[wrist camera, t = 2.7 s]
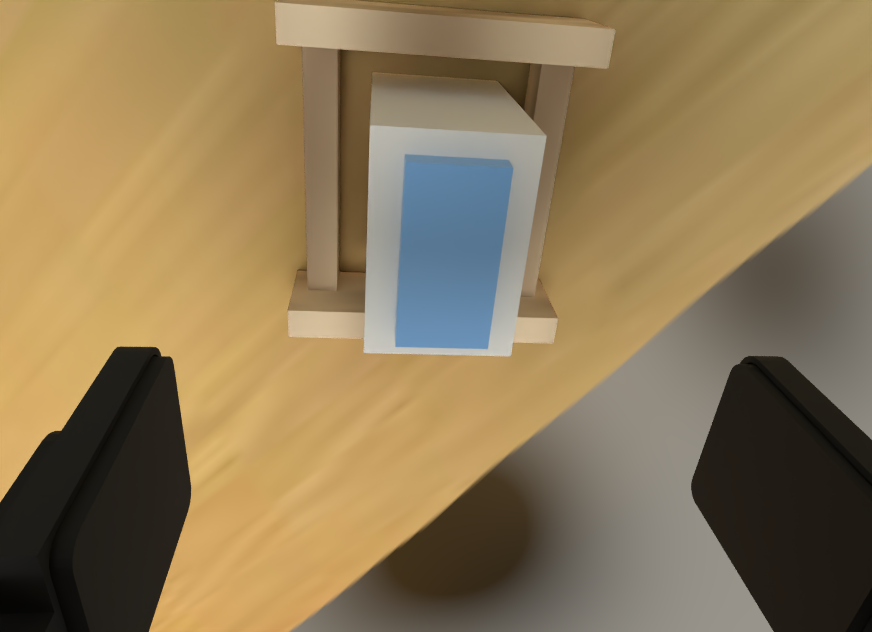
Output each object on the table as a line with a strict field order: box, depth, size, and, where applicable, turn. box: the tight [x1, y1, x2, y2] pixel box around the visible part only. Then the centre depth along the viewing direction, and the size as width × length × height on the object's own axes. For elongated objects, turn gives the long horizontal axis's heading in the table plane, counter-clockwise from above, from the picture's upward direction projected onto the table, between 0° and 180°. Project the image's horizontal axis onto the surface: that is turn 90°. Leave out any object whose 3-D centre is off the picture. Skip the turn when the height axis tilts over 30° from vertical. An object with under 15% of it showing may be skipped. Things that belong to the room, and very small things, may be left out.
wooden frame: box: [275, 0, 616, 343], centre depth 20 cm, size 9×10×3 cm
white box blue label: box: [364, 72, 547, 356], centre depth 19 cm, size 4×6×8 cm, turn 176°
